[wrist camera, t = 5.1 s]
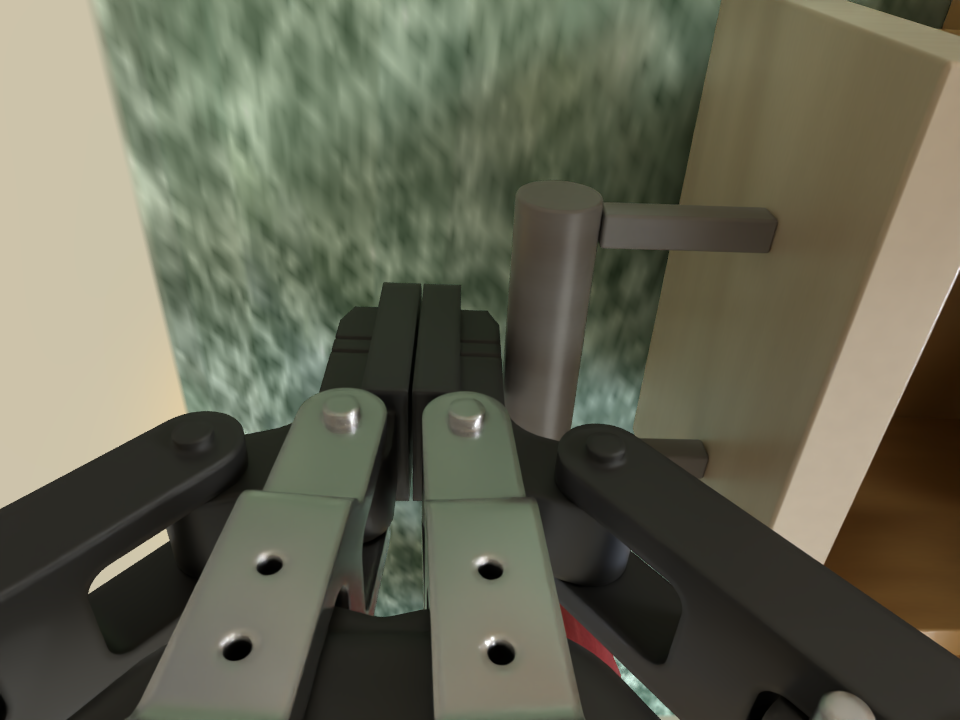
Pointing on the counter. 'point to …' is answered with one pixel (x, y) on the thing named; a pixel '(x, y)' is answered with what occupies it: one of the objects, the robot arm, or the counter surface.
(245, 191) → the counter surface
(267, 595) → the robot arm
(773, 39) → the drawer
